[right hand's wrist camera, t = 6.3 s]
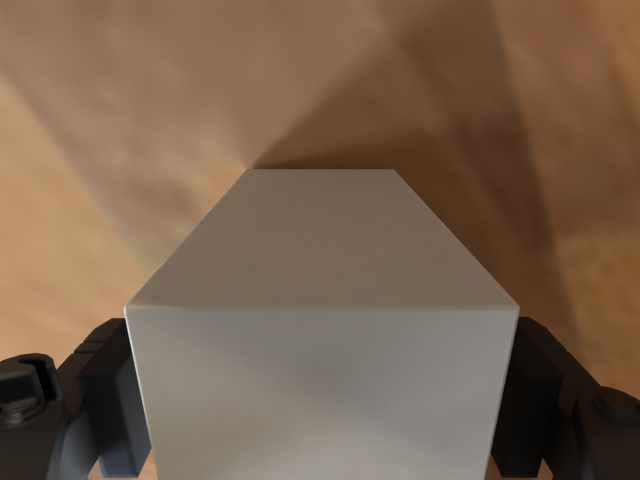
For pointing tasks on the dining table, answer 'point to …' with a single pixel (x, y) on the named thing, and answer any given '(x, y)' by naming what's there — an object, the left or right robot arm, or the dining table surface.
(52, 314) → the dining table surface
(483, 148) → the dining table surface
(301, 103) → the dining table surface
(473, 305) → the beam
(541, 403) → the right robot arm
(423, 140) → the dining table surface
